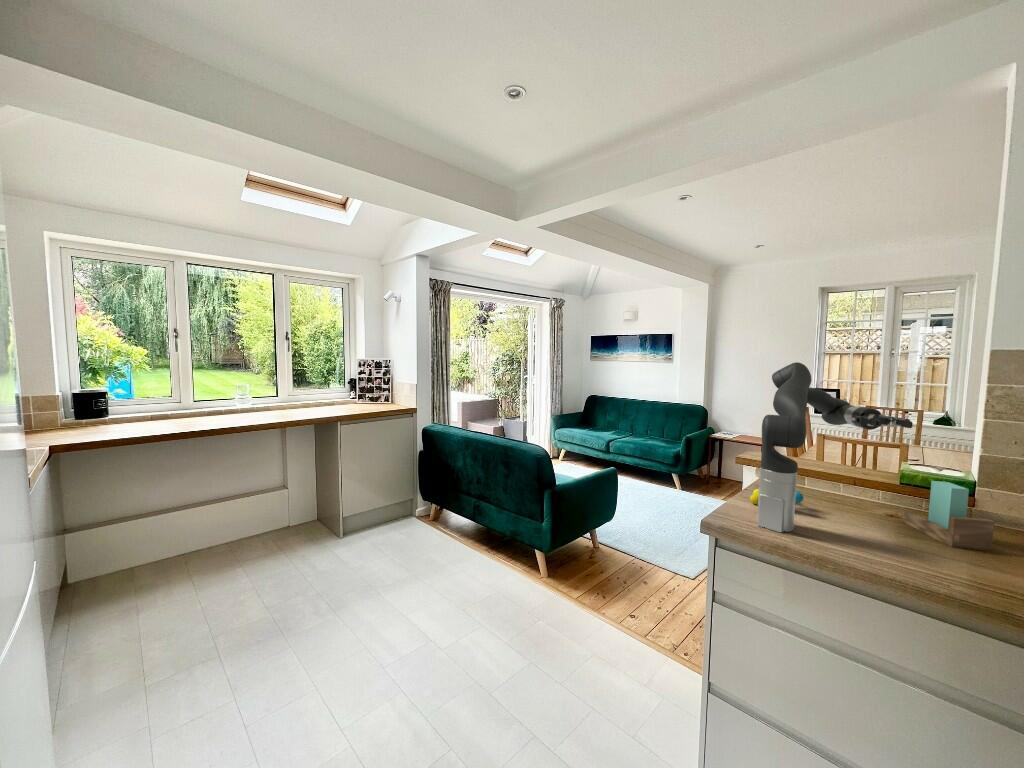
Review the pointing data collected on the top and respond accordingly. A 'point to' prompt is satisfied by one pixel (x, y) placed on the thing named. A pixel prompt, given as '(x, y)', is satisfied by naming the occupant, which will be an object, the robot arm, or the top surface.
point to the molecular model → (755, 497)
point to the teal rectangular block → (947, 502)
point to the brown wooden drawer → (956, 531)
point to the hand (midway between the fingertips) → (895, 424)
